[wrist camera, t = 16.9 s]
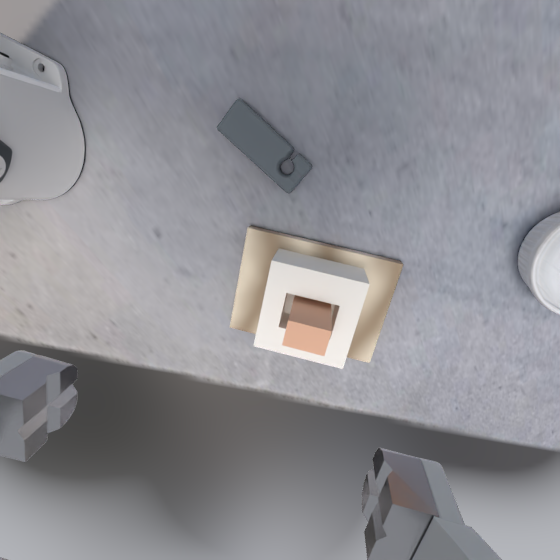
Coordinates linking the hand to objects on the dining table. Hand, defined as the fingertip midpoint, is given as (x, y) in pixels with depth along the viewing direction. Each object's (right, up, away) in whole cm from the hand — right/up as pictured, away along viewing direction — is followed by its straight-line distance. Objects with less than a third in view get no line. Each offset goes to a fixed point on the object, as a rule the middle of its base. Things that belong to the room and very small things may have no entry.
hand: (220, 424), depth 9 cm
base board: (+5, +2, +34) cm, 34 cm away
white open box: (+5, +2, +32) cm, 33 cm away
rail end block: (+5, +1, +31) cm, 31 cm away
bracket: (0, +19, +30) cm, 35 cm away
